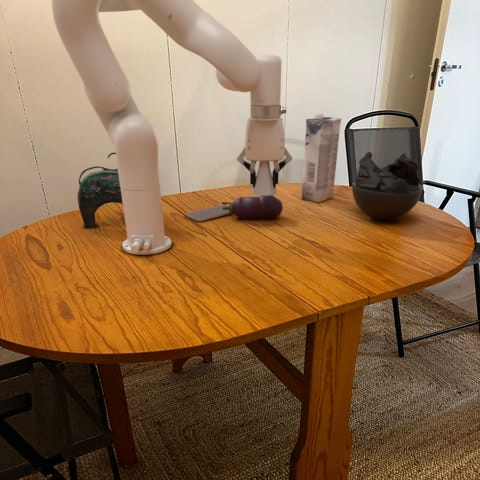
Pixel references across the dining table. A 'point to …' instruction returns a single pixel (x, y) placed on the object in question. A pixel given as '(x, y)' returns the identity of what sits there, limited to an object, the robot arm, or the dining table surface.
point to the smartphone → (208, 213)
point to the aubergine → (255, 207)
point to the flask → (264, 180)
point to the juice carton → (320, 157)
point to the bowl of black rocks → (387, 187)
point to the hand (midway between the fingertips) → (264, 186)
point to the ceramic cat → (98, 192)
